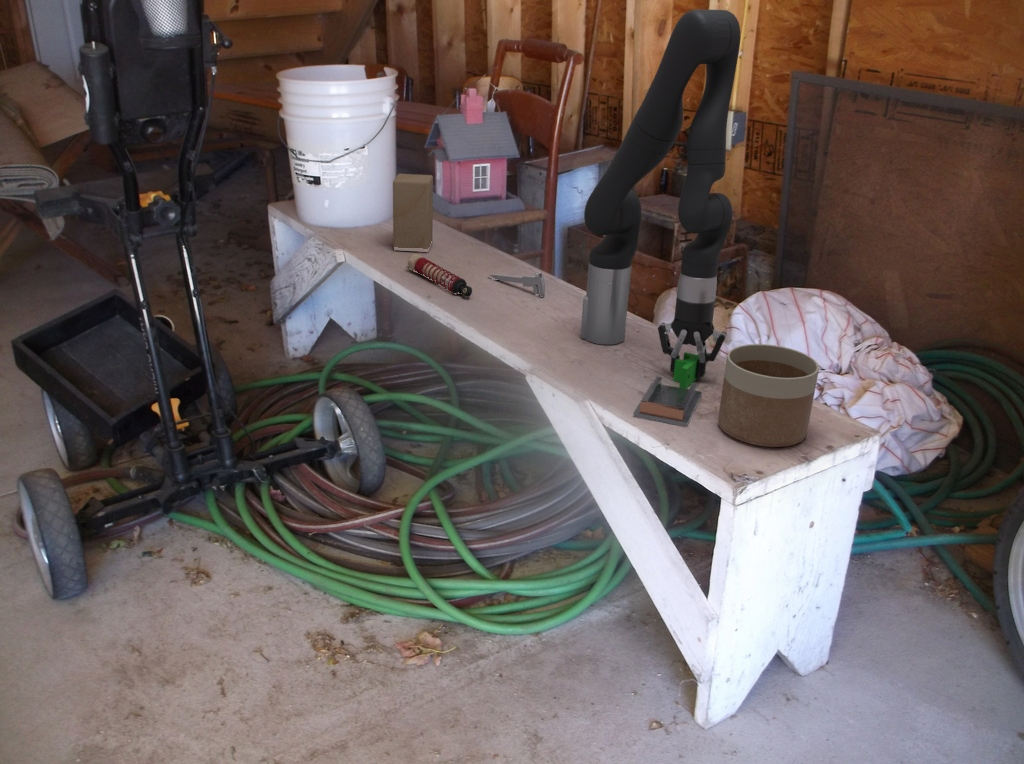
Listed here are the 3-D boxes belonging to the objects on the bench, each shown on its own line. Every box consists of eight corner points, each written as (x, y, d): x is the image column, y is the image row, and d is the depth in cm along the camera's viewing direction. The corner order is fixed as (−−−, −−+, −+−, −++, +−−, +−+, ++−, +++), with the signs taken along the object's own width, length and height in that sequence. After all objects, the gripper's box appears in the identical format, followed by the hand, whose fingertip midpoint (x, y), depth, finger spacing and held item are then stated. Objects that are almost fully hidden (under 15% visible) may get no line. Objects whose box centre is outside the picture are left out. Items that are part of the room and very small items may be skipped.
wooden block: (393, 251, 267) (392, 180, 259) (398, 241, 276) (397, 173, 268) (428, 253, 267) (429, 182, 259) (432, 243, 276) (433, 174, 268)
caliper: (544, 298, 236) (546, 274, 234) (541, 299, 236) (543, 274, 233) (489, 277, 250) (490, 254, 247) (486, 278, 249) (487, 255, 246)
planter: (755, 404, 183) (766, 337, 178) (824, 435, 172) (837, 366, 166) (699, 423, 175) (708, 354, 169) (767, 458, 163) (780, 385, 158)
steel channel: (633, 416, 176) (634, 402, 175) (651, 386, 189) (653, 373, 188) (686, 426, 173) (688, 413, 172) (701, 395, 186) (703, 382, 185)
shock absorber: (480, 285, 232) (419, 253, 254) (465, 281, 229) (405, 248, 251) (473, 303, 233) (413, 269, 255) (458, 299, 230) (399, 265, 252)
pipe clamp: (688, 368, 199) (690, 347, 197) (705, 372, 197) (708, 351, 195) (667, 385, 190) (669, 364, 188) (684, 389, 188) (687, 368, 186)
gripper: (735, 295, 187) (725, 375, 194) (664, 285, 192) (656, 364, 199) (729, 306, 181) (719, 388, 188) (656, 296, 185) (648, 376, 192)
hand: (687, 375), depth 193 cm, fingers closed on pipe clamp, 4 cm apart
